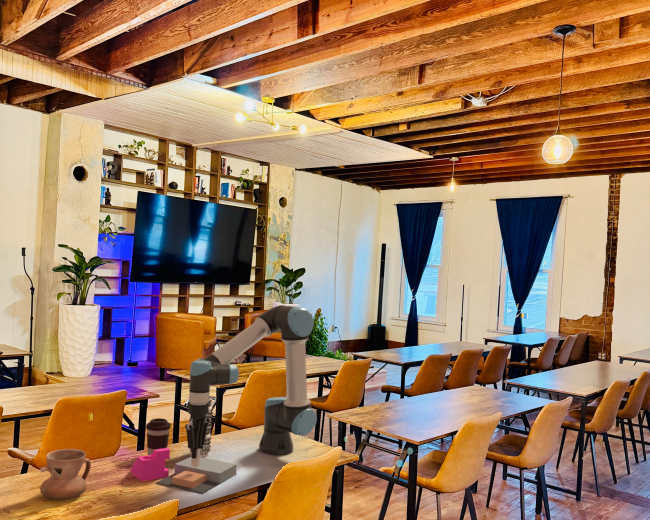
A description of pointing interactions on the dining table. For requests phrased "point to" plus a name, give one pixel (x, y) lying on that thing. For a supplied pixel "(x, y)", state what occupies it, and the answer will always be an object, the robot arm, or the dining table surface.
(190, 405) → the robot arm
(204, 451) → the decorative candle
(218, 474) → the board
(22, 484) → the dining table surface
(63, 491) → the ceramic jug
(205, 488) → the mat
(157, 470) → the bracket
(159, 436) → the coffee cup
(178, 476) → the coaster
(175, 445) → the dining table surface
